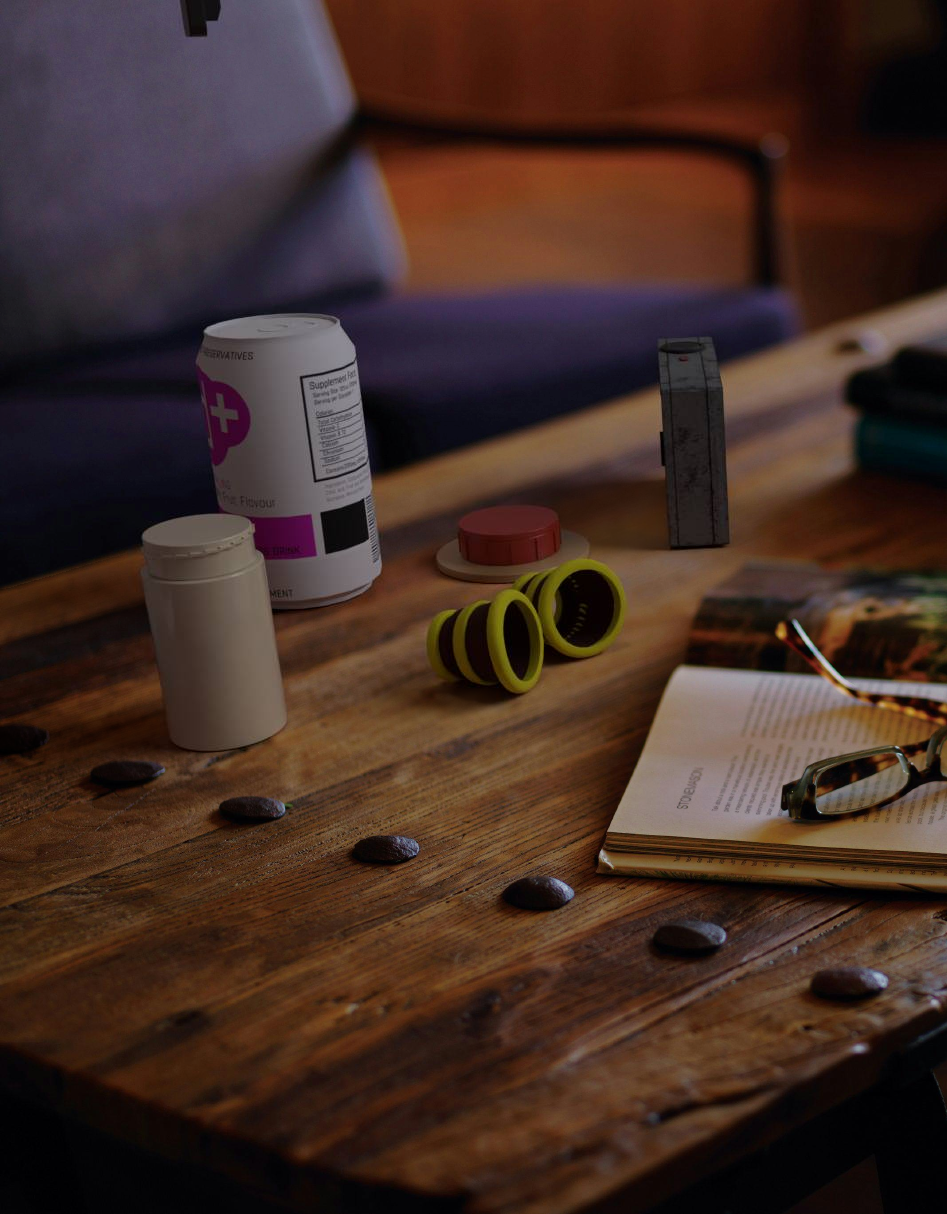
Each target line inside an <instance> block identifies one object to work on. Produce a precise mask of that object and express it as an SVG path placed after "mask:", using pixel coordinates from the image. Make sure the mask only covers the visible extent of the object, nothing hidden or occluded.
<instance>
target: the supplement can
mask: <svg viewBox="0 0 947 1214" xmlns="http://www.w3.org/2000/svg"><path fill="white" fill-rule="evenodd" d="M203 336H204V337H203V340H202V343H201V346H200V348H199V350H198V353H197V356H196V359H195V366H196V373H197V378H198V379H197V380H198V385H199V392H200V397H201V403H202V404H201V405H202V409H203V416H204V422H205V428H206V435H207V441H208V448H209V455H210V461H211V466H212V472H213V478H214V479H213V480H214V486H215V491H216V497H217V504H218V511H219V514H231V515H237V516H242V517H245V518H247V519H249V520H250V521H251V523H252V524H254V525H255V532H254V533H253V535H254V542H255V549H256V550H258V551H260V552H261V553H262V554H263V556H264V561H265V568H266V575H267V581H268V588H269V595H270V601H271V608H272V609H275V610H304V609H311V608H317V607H324V606H329V605H333V604H337V603H341V602H344V601H347V600H350V599H352V598H354V597H356V596H359V595H361V594H363V593H364V592H366V591H367V590H368V589H369V588H370V587H372V584H373V581H374V580H375V579H376V578H378V576H380V575H381V573H382V567H383V564H382V555H381V548H380V540H379V539H380V538H379V532H378V522H377V515H376V508H375V507H376V505H375V499H374V489H373V482H372V473H371V466H370V458H369V450H368V441H367V435H366V427H365V418H364V410H363V401H362V395H361V394H362V393H361V386H360V379H359V369H358V362H357V354H356V346H355V344H354V343H353V342H352V341H351V339H350V338H349V336H348V335H347V333H346V332H345V330H344V329H343V327H342V326H341V322H340V318H339V319H338V318H337V317H336V316H332V315H327V314H322V313H321V314H320V313H303V312H302V313H299V312H298V313H275V314H274V313H273V314H264V315H262V314H261V315H255V316H254V315H253V316H246V317H241V318H239V317H238V318H233V319H229V320H225V321H221V322H217V323H215V324H212V325H209V326H207V327H206V328H205V329H204V330H203Z"/></svg>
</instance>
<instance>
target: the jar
mask: <svg viewBox="0 0 947 1214" xmlns="http://www.w3.org/2000/svg"><path fill="white" fill-rule="evenodd" d="M254 532H255V525H254V524H252V523H251V521H250V520H249V519H247V518H245V517H242V516H237V515H231V514H220V513H205V514H194V515H188V516H182V517H177V518H173V519H169V520H165V521H163V522H160V523H157V524H154V525H152V526H151V527H148V528H147V529H145V530H144V531H143V533H142V535H141V541H142V542H141V543H142V546H141V548H140V553H141V555H142V556H143V557H144V560H145V564H144V565H143V566H142V568H141V570H140V579H141V585H142V590H143V596H144V602H145V607H146V613H147V617H148V624H149V629H150V635H151V641H152V647H153V652H154V658H155V663H156V669H157V674H158V675H157V676H158V680H159V686H160V691H161V697H162V703H163V708H164V713H165V719H166V725H167V729H168V730H167V731H168V736H169V739H170V741H171V742H172V743H173V744H174V745H176V746H178V747H179V748H182V749H185V750H191V751H198V752H217V751H227V750H234V749H238V748H244V747H247V746H251V745H255V744H258V743H261V742H262V741H264V740H267V739H269V738H271V737H273V736H275V735H276V734H278V733H279V732H280V731H281V730H283V729H284V727H285V726H286V725H287V723H288V721H289V720H288V719H289V715H288V710H287V709H288V708H287V703H286V695H285V689H284V682H283V675H282V668H281V661H280V655H279V648H278V642H277V637H276V636H277V635H276V629H275V628H276V627H275V622H274V615H273V608H271V601H270V595H269V588H268V581H267V575H266V568H265V561H264V556H263V554H262V553H261V552H260V551H258V550H256V549H255V542H254V535H253V533H254Z"/></svg>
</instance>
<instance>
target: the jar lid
mask: <svg viewBox="0 0 947 1214" xmlns="http://www.w3.org/2000/svg"><path fill="white" fill-rule="evenodd" d="M457 526H458V527H457V528H458V531H457V539H458V542H459V552H460V553H461V555H462V557H463V558H464V559H466V560H468V561H470V562H473V563H477V564H482V565H492V566H507V565H518V564H525V563H530V562H535V561H539V560H542V559H545V558H547V557H550V556H552V555H553V554H555V553H556V552H557V551H558V550H559V549H560V544H562V541H561V529H562V528H561V522H559V515H558V513H557V512H556V511H555V510H553V509H551V508H548V507H546V506H545V507H544V506H540V505H533V504H508V505H506V504H505V505H498V506H492V507H487V508H482V509H478V510H475V511H472V512H469V513H468V514H465V515H463V516H462V517H461V518H460V519H459V520H458V522H457Z"/></svg>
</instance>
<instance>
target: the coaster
mask: <svg viewBox="0 0 947 1214" xmlns="http://www.w3.org/2000/svg"><path fill="white" fill-rule="evenodd" d="M560 529H561V541H562V544H560V549H559V550H558V551H557V552H556V553H555V554H553V555H552V556H550V557H547V558H545V559H542V560H539V561H535V562H530V563H525V564H518V565H507V566H492V565H482V564H477V563H473V562H470V561H468V560H466V559H464V558H463V557H462V555H461V553H460V552H459V542H458V538H456V539H454V540H452V541H449V542H448V543H446V544H444V545H443V546H442V547H441V548H439V549H438V551H437V553H436V556H435V559H436V566H437V568H438V570H439V571H440V572H442V573H443V574H444V575H446V576H448V577H451V578H453V579H457V580H461V581H466V582H474V583H484V584H485V583H487V584H507V583H509V584H510V583H515V581H516V580H517V579H518V578H520V577H521V576H523V575H525V574H528V573H533V572H539V573H542V572H544V571H547V570H549V569H552V568H557V567H559V566H560V565H562V564H563V563H565V562H568V561H571V560H574V559H589V557H590V554H591V550H590V549H591V547H590V542H589V540H588V539H587V538H586V537H585V536H583V535H581V533H580V534H579V533H577V532H575V531H571V530H569V529H568V530H567V529H563V528H560Z"/></svg>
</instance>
